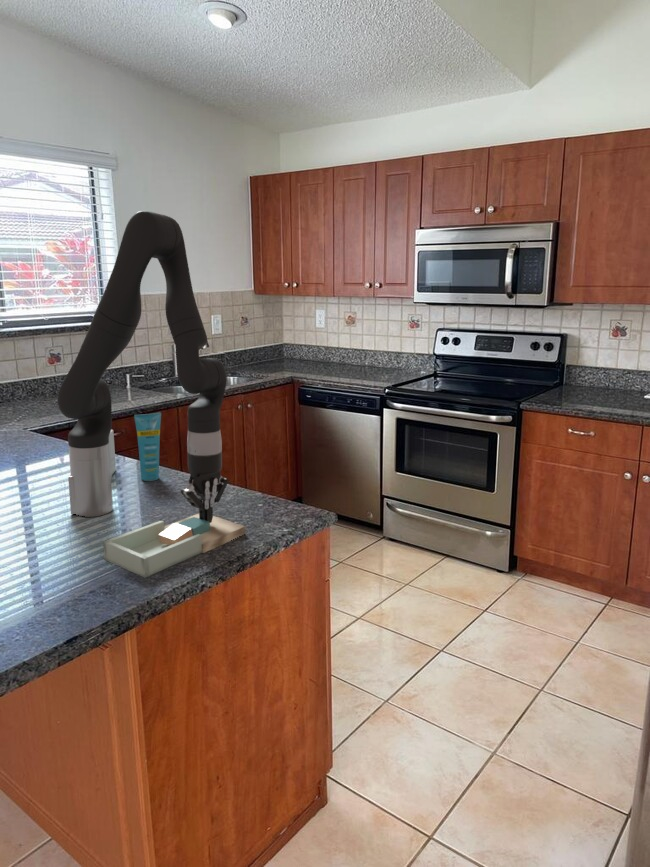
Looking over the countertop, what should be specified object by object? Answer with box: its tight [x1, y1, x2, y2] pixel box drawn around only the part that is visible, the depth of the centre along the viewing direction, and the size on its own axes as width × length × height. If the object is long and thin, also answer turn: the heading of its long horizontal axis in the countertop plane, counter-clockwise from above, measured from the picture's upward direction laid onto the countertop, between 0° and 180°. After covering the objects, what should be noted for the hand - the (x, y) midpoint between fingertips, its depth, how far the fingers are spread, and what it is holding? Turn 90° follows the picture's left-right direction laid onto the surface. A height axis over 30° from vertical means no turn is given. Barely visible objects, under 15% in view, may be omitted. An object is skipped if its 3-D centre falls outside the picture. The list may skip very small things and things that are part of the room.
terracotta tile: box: [158, 522, 193, 546], centre depth 139 cm, size 5×5×2 cm
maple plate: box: [164, 512, 246, 554], centre depth 146 cm, size 13×14×2 cm
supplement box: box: [109, 429, 117, 477], centre depth 186 cm, size 7×7×13 cm
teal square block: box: [177, 517, 210, 536], centre depth 143 cm, size 5×5×2 cm
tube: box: [133, 412, 162, 482], centre depth 182 cm, size 7×5×19 cm, turn 123°
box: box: [102, 520, 203, 578], centre depth 135 cm, size 15×13×4 cm
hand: (206, 522), depth 146 cm, fingers closed
